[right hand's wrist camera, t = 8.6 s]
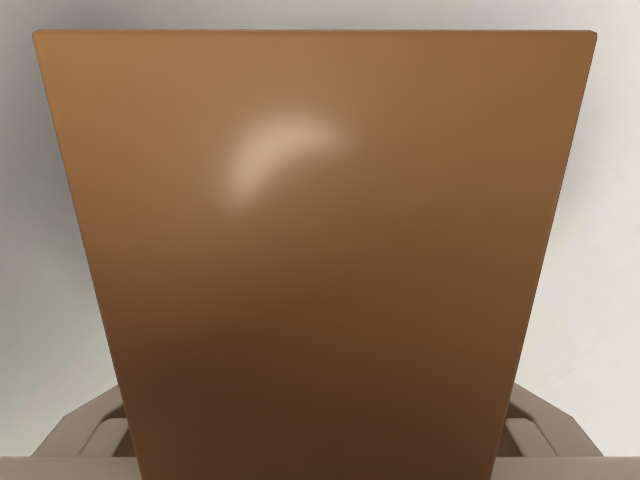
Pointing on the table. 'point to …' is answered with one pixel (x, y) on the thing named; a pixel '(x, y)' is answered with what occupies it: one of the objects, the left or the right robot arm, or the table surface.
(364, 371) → the post
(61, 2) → the table surface
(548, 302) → the table surface
